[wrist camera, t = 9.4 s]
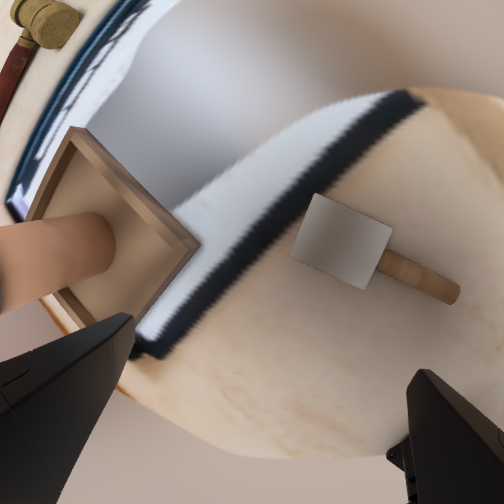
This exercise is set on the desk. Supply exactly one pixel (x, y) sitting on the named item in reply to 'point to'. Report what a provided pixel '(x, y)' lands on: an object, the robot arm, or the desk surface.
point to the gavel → (34, 37)
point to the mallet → (359, 250)
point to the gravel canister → (52, 256)
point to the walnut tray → (123, 226)
